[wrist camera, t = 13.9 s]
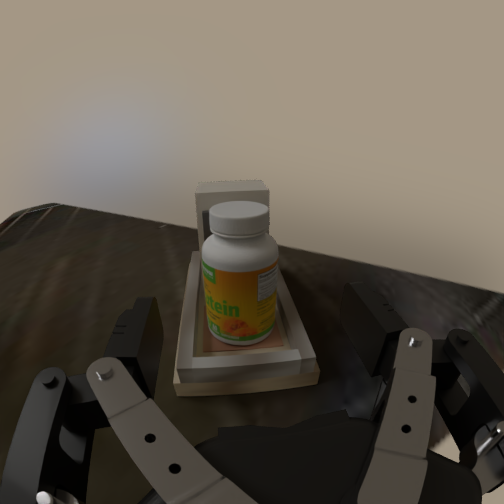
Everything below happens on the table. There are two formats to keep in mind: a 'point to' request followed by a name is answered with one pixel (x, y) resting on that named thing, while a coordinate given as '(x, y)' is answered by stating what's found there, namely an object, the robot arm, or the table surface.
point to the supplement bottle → (240, 273)
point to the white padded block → (221, 193)
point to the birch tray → (240, 349)
